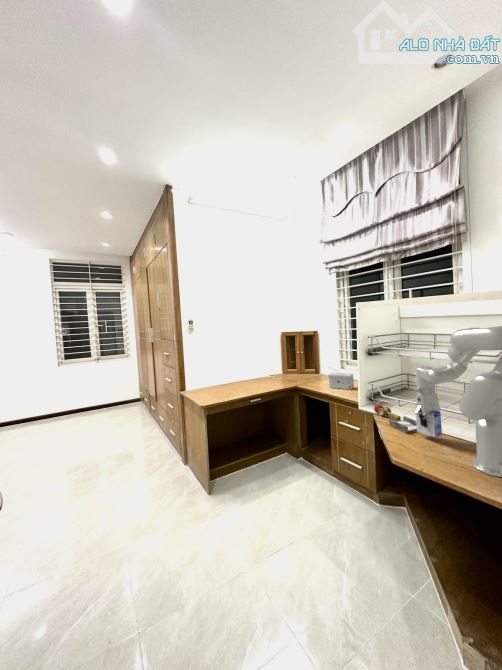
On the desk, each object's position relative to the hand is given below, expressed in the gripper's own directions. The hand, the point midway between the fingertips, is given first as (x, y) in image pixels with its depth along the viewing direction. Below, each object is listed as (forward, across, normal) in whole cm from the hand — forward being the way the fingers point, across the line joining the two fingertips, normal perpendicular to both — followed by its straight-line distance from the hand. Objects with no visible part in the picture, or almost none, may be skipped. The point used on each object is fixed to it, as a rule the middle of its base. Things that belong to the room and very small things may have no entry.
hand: (428, 424), depth 132 cm
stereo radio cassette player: (+4, +15, +101) cm, 102 cm away
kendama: (+7, +4, +33) cm, 34 cm away
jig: (+7, 0, +15) cm, 17 cm away
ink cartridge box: (+5, 0, 0) cm, 5 cm away
